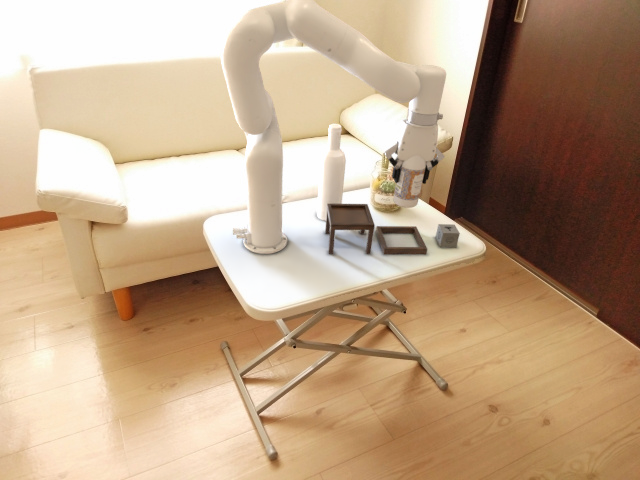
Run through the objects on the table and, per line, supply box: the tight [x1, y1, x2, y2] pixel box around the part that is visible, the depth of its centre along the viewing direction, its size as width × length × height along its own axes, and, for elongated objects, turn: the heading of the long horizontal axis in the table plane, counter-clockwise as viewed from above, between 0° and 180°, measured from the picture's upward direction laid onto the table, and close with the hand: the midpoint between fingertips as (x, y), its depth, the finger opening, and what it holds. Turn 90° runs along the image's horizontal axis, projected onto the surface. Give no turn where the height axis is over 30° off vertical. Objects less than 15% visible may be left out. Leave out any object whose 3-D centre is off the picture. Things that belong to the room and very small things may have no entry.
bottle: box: [316, 123, 347, 222], centre depth 139 cm, size 8×8×30 cm
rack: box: [324, 203, 428, 256], centre depth 132 cm, size 28×12×10 cm, turn 95°
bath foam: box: [392, 156, 426, 209], centre depth 123 cm, size 7×7×20 cm
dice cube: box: [434, 223, 461, 249], centre depth 135 cm, size 5×5×5 cm
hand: (409, 180), depth 124 cm, fingers closed on bath foam, 7 cm apart
